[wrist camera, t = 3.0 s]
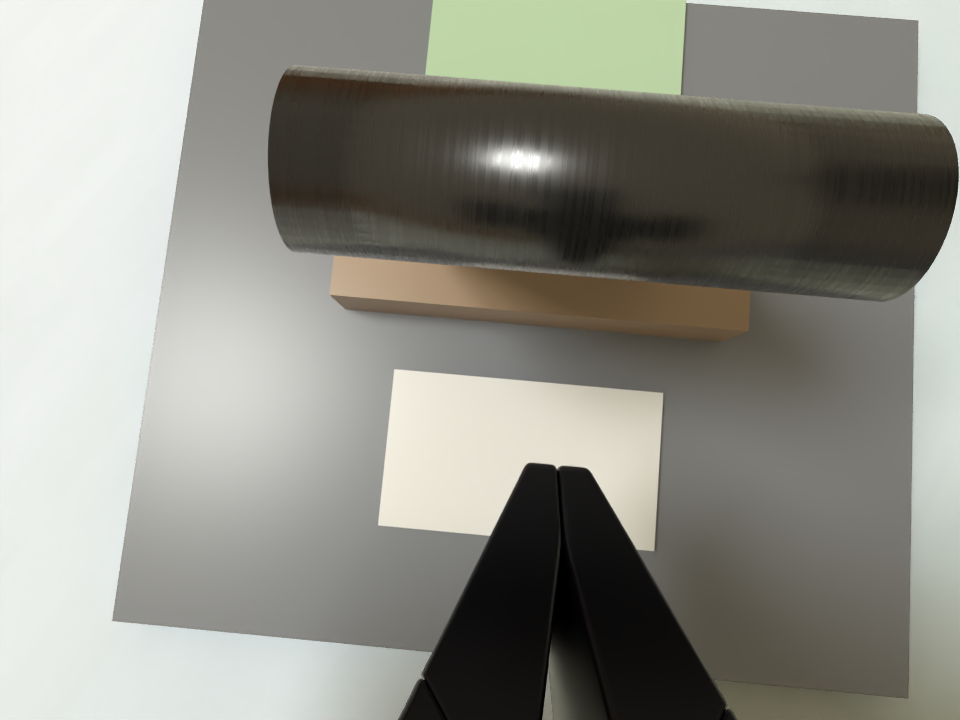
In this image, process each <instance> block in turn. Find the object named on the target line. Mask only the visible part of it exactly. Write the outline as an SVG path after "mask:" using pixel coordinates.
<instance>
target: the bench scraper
mask: <svg viewBox="0 0 960 720" xmlns="http://www.w3.org/2000/svg"><path fill="white" fill-rule="evenodd" d="M268 179H269V189H270V197H271V204H272V209H273V214H274V218H275V222H276V226H277V229H278V231H279V234H280V236H281V238H282V240H283V242H284V244H285V245H286V247H287V248H288V249H289V250H291V251H293V252H300V253H312V254H323V255H335V256H347V257H359V258H371V259H382V260H394V261H406V262H418V263H429V264H441V265H453V266H465V267H477V268H488V269H500V270H512V271H524V272H535V273H547V274H559V275H571V276H583V277H594V278H606V279H618V280H630V281H642V282H653V283H665V284H677V285H689V286H700V287H712V288H724V289H736V290H748V291H759V292H771V293H783V294H795V295H806V296H818V297H830V298H842V299H854V300H865V301H877V302H885V301H890V300H893V299H896V298H898V297H900V296H902V295H903V294H905V293H906V292H907V291H909V290H910V289H911V288H913V287H914V286H915V285H916V284H917V283H918V282H919V281H920V279H921V278H922V277H923V276H924V274H925V273H926V272H927V271H928V269H929V268H930V266H931V265H932V263H933V262H934V260H935V258H936V256H937V255H938V253H939V251H940V249H941V247H942V245H943V242H944V240H945V238H946V236H947V233H948V230H949V227H950V224H951V221H952V217H953V213H954V209H955V204H956V199H957V192H958V181H959V167H958V158H957V152H956V148H955V144H954V141H953V138H952V136H951V134H950V132H949V131H948V129H947V127H946V126H945V125H944V124H943V123H942V122H941V121H940V120H939V119H937V118H936V117H933V116H931V115H927V114H914V113H901V112H889V111H876V110H863V109H851V108H838V107H825V106H813V105H800V104H787V103H774V102H762V101H749V100H736V99H724V98H711V97H698V96H686V95H673V94H660V93H648V92H635V91H622V90H609V89H597V88H584V87H571V86H559V85H546V84H533V83H521V82H508V81H495V80H483V79H470V78H457V77H444V76H432V75H419V74H406V73H394V72H381V71H368V70H356V69H343V68H330V67H318V66H305V65H292V66H290V67H289V68H288V69H287V70H286V71H285V72H284V74H283V75H282V77H281V79H280V81H279V84H278V87H277V90H276V93H275V97H274V101H273V106H272V111H271V117H270V125H269V136H268Z"/></svg>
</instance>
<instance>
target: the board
mask: <svg viewBox="0 0 960 720" xmlns="http://www.w3.org/2000/svg"><path fill="white" fill-rule="evenodd" d="M292 65H305V66H318V67H330V68H343V69H356V70H368V71H381V72H394V73H406V74H419V75H432V76H444V77H457V78H470V79H483V80H495V81H508V82H521V83H533V84H546V85H559V86H571V87H584V88H597V89H609V90H622V91H635V92H648V93H660V94H673V95H686V96H698V97H711V98H724V99H736V100H749V101H762V102H774V103H787V104H800V105H813V106H825V107H838V108H851V109H863V110H876V111H889V112H901V113H914V114H917V76H918V21H916V20H903V19H890V18H876V17H863V16H850V15H837V14H824V13H810V12H797V11H784V10H771V9H758V8H744V7H731V6H718V5H705V4H692V3H686V0H204V3H203V10H202V16H201V23H200V30H199V37H198V43H197V50H196V57H195V64H194V70H193V77H192V84H191V91H190V98H189V104H188V111H187V118H186V125H185V131H184V138H183V145H182V152H181V159H180V165H179V172H178V179H177V186H176V192H175V199H174V206H173V213H172V220H171V226H170V233H169V240H168V247H167V253H166V260H165V267H164V274H163V281H162V287H161V294H160V301H159V308H158V314H157V321H156V328H155V335H154V341H153V348H152V355H151V362H150V369H149V375H148V382H147V389H146V396H145V402H144V409H143V416H142V423H141V430H140V436H139V443H138V450H137V457H136V463H135V470H134V477H133V484H132V491H131V497H130V504H129V511H128V518H127V524H126V531H125V538H124V545H123V552H122V558H121V565H120V572H119V579H118V585H117V592H116V599H115V606H114V613H113V619H112V621H118V622H128V623H139V624H149V625H159V626H169V627H180V628H190V629H200V630H211V631H221V632H231V633H241V634H252V635H262V636H272V637H282V638H293V639H303V640H313V641H323V642H334V643H344V644H354V645H365V646H375V647H385V648H395V649H406V650H416V651H426V652H433V650H434V648H435V646H436V644H437V642H438V640H439V638H440V636H441V634H442V632H443V630H444V628H445V626H446V624H447V622H448V620H449V618H450V616H451V613H452V611H453V609H454V607H455V605H456V603H457V601H458V599H459V597H460V595H461V593H462V591H463V589H464V587H465V585H466V583H467V581H468V579H469V577H470V575H471V573H472V571H473V569H474V567H475V565H476V563H477V561H478V559H479V557H480V555H481V553H482V551H483V549H484V547H485V545H486V543H487V541H488V539H489V537H490V535H491V533H492V531H493V529H494V527H495V525H496V523H497V521H498V519H499V517H500V515H501V513H502V511H503V509H504V507H505V505H506V503H507V501H508V499H509V497H510V495H511V493H512V491H513V489H514V487H515V485H516V483H517V481H518V479H519V476H520V474H521V472H522V470H523V468H524V467H525V465H526V464H527V463H542V464H552V465H554V466H555V467H556V468H557V469H558V467H560V466H563V465H564V466H575V467H584V468H587V469H588V470H590V472H591V473H592V475H593V476H594V478H595V480H596V481H597V483H598V485H599V486H600V488H601V490H602V491H603V493H604V495H605V497H606V498H607V500H608V502H609V503H610V505H611V507H612V508H613V510H614V512H615V514H616V515H617V517H618V519H619V520H620V522H621V524H622V525H623V527H624V529H625V531H626V532H627V534H628V536H629V537H630V539H631V541H632V542H633V544H634V546H635V547H636V549H637V551H638V553H639V554H640V556H641V558H642V559H643V561H644V563H645V564H646V566H647V568H648V570H649V571H650V573H651V575H652V576H653V578H654V580H655V581H656V583H657V585H658V586H659V588H660V590H661V592H662V593H663V595H664V597H665V598H666V600H667V602H668V603H669V605H670V607H671V609H672V610H673V612H674V614H675V615H676V617H677V619H678V620H679V622H680V624H681V626H682V627H683V629H684V631H685V632H686V634H687V636H688V637H689V639H690V641H691V642H692V644H693V646H694V648H695V649H696V651H697V653H698V654H699V656H700V658H701V659H702V661H703V663H704V665H705V666H706V668H707V670H708V671H709V673H710V675H711V676H712V678H713V680H724V681H734V682H744V683H755V684H765V685H775V686H785V687H796V688H806V689H816V690H826V691H837V692H847V693H857V694H867V695H878V696H888V697H898V698H908V682H909V615H910V547H911V480H912V413H913V345H914V287H913V288H911V289H910V290H909V291H907V292H906V293H905V294H903V295H902V296H900V297H898V298H896V299H893V300H890V301H885V302H877V301H865V300H854V299H842V298H830V297H818V296H806V295H795V294H783V293H771V292H759V291H748V290H736V289H724V288H712V287H700V286H689V285H677V284H665V283H653V282H642V281H630V280H618V279H606V278H594V277H583V276H571V275H559V274H547V273H535V272H524V271H512V270H500V269H488V268H477V267H465V266H453V265H441V264H429V263H418V262H406V261H394V260H382V259H371V258H359V257H347V256H335V255H323V254H312V253H300V252H293V251H291V250H289V249H288V248H287V247H286V245H285V244H284V242H283V240H282V238H281V236H280V234H279V231H278V229H277V226H276V222H275V218H274V214H273V209H272V204H271V197H270V189H269V179H268V136H269V125H270V117H271V111H272V106H273V101H274V97H275V93H276V90H277V87H278V84H279V81H280V79H281V77H282V75H283V74H284V72H285V71H286V70H287V69H288V68H289V67H290V66H292Z"/></svg>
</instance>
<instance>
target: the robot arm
mask: <svg viewBox="0 0 960 720" xmlns="http://www.w3.org/2000/svg"><path fill="white" fill-rule="evenodd" d="M548 666H549V678H550V689H551V701H552V712H553V720H737V718H736V717H735V715H734V713H733V712H732V711H731V710H730V709H727V710H726V707H727V702H726V700H725V698H724V697H723V695H722V693H721V692H720V690H719V688H718V687H717V685H716V683H715V682H714V680H713V678H712V676H711V675H710V673H709V671H708V670H707V668H706V666H705V665H704V663H703V661H702V659H701V658H700V656H699V654H698V653H697V651H696V649H695V648H694V646H693V644H692V642H691V641H690V639H689V637H688V636H687V634H686V632H685V631H684V629H683V627H682V626H681V624H680V622H679V620H678V619H677V617H676V615H675V614H674V612H673V610H672V609H671V607H670V605H669V603H668V602H667V600H666V598H665V597H664V595H663V593H662V592H661V590H660V588H659V586H658V585H657V583H656V581H655V580H654V578H653V576H652V575H651V573H650V571H649V570H648V568H647V566H646V564H645V563H644V561H643V559H642V558H641V556H640V554H639V553H638V551H637V549H636V547H635V546H634V544H633V542H632V541H631V539H630V537H629V536H628V534H627V532H626V531H625V529H624V527H623V525H622V524H621V522H620V520H619V519H618V517H617V515H616V514H615V512H614V510H613V508H612V507H611V505H610V503H609V502H608V500H607V498H606V497H605V495H604V493H603V491H602V490H601V488H600V486H599V485H598V483H597V481H596V480H595V478H594V476H593V475H592V473H591V472H590V470H588V469H587V468H584V467H575V466H564V465H563V466H560V467H558V469H557V468H556V467H555V466H554V465H552V464H542V463H527V464H526V465H525V467H524V468H523V470H522V472H521V474H520V476H519V479H518V481H517V483H516V485H515V487H514V489H513V491H512V493H511V495H510V497H509V499H508V501H507V503H506V505H505V507H504V509H503V511H502V513H501V515H500V517H499V519H498V521H497V523H496V525H495V527H494V529H493V531H492V533H491V535H490V537H489V539H488V541H487V543H486V545H485V547H484V549H483V551H482V553H481V555H480V557H479V559H478V561H477V563H476V565H475V567H474V569H473V571H472V573H471V575H470V577H469V579H468V581H467V583H466V585H465V587H464V589H463V591H462V593H461V595H460V597H459V599H458V601H457V603H456V605H455V607H454V609H453V611H452V613H451V616H450V618H449V620H448V622H447V624H446V626H445V628H444V630H443V632H442V634H441V636H440V638H439V640H438V642H437V644H436V646H435V648H434V650H433V652H432V654H431V656H430V658H429V660H428V662H427V664H426V666H425V668H424V670H423V672H422V674H421V679H419V680H418V681H417V683H416V685H415V687H414V689H413V691H412V693H411V695H410V697H409V699H408V701H407V703H406V705H405V707H404V709H403V711H402V713H401V715H400V717H399V718H398V720H542V715H543V707H544V699H545V690H546V682H547V673H548Z"/></svg>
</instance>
